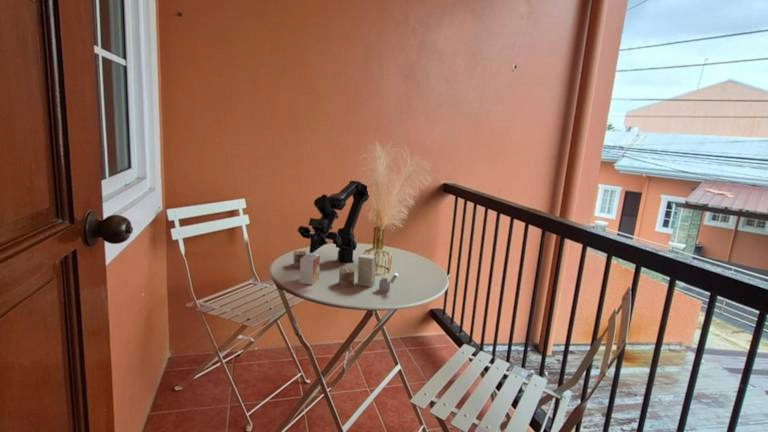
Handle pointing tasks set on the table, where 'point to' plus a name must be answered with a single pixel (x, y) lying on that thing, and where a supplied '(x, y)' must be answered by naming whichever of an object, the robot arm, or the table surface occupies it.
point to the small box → (309, 268)
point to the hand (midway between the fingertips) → (310, 252)
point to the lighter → (386, 283)
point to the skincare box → (366, 270)
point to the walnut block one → (346, 277)
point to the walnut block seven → (298, 258)
